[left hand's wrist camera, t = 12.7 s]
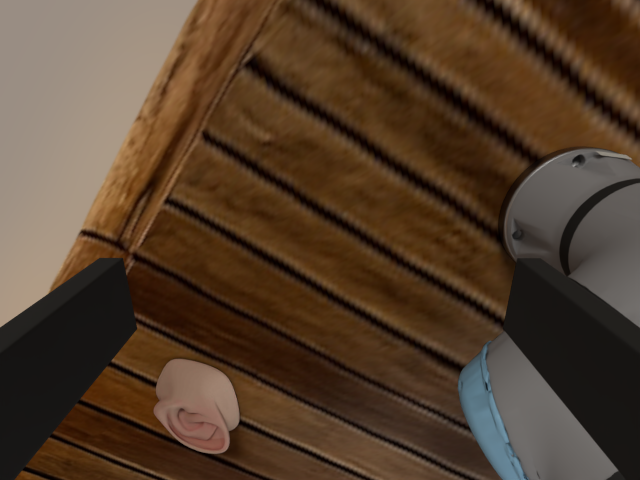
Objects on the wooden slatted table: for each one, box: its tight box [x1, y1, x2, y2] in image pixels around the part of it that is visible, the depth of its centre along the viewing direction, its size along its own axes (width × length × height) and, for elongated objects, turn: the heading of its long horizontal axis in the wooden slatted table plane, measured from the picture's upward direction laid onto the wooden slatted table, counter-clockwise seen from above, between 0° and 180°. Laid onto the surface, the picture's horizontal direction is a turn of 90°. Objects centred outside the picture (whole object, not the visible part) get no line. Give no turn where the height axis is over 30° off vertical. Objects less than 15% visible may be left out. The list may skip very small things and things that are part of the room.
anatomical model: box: [154, 359, 239, 454], centre depth 50 cm, size 13×4×12 cm
